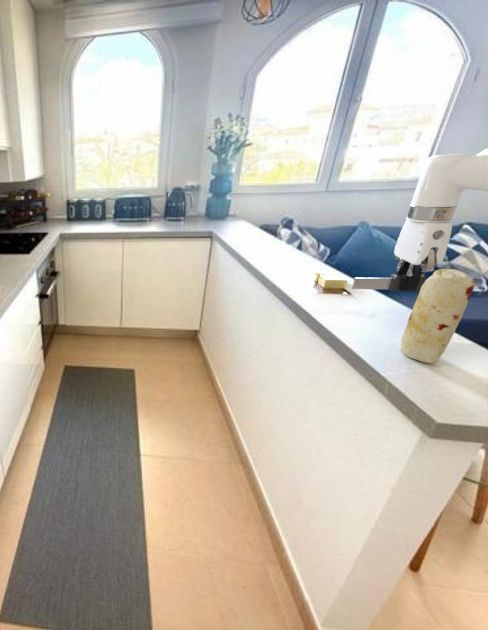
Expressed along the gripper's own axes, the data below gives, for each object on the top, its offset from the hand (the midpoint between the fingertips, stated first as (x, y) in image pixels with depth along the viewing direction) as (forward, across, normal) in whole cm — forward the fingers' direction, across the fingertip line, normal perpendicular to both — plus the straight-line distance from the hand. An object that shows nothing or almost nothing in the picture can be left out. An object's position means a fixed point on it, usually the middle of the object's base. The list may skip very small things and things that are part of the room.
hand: (403, 287), depth 86 cm
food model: (+11, -15, +2) cm, 18 cm away
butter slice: (+9, +30, +4) cm, 32 cm away
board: (+11, +26, +6) cm, 29 cm away
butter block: (+9, +25, +4) cm, 27 cm away
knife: (0, 0, +3) cm, 3 cm away
